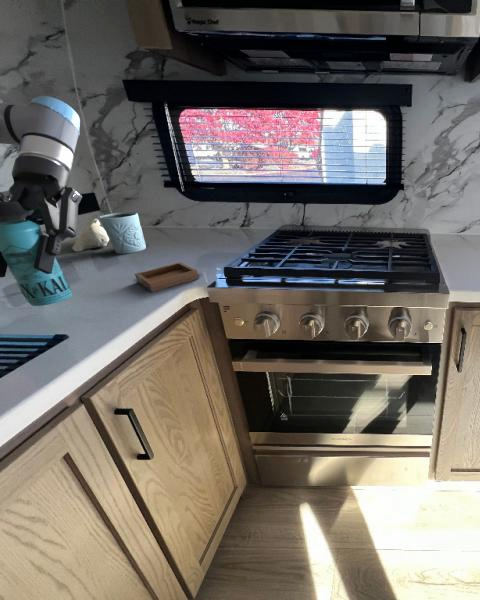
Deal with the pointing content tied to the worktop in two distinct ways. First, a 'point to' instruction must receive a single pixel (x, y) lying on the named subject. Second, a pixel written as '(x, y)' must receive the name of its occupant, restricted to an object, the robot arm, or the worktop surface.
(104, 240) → the cream animal figurine
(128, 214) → the light blue embossed planter
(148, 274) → the brown wooden shallow tray
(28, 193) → the robot arm
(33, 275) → the beverage bottle
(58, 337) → the worktop surface
